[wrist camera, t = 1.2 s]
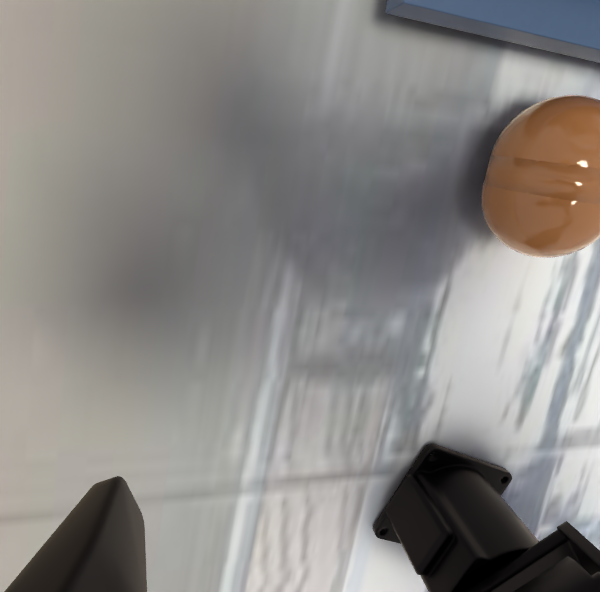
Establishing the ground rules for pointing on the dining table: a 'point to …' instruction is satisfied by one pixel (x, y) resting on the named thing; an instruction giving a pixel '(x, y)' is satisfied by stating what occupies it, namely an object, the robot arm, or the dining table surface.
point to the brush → (516, 21)
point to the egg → (546, 178)
